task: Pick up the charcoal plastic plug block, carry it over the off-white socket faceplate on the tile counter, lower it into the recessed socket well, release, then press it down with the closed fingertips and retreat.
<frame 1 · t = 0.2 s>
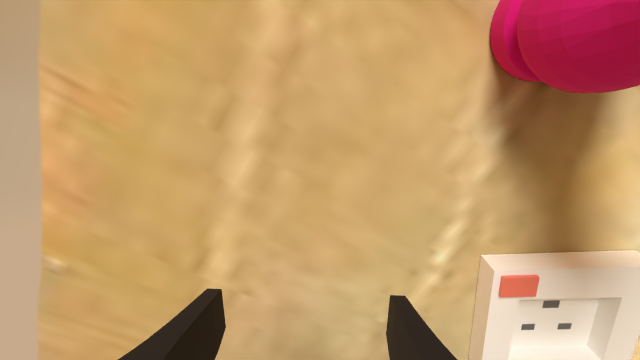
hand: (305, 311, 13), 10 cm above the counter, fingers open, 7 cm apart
socket plate: (544, 311, 24), on the counter
pepper mill: (541, 26, 18), on the counter
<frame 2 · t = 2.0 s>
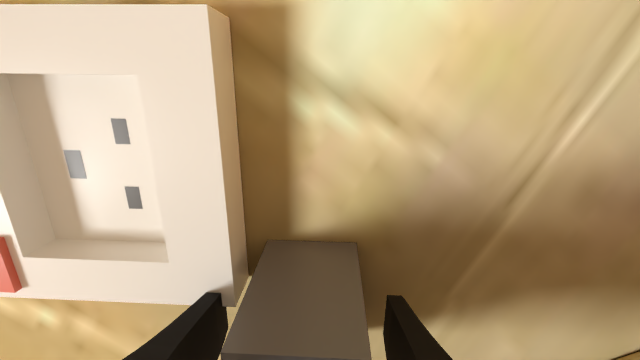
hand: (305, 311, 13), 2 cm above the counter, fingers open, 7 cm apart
plug: (311, 287, 14), on the counter
socket plate: (112, 162, 13), on the counter
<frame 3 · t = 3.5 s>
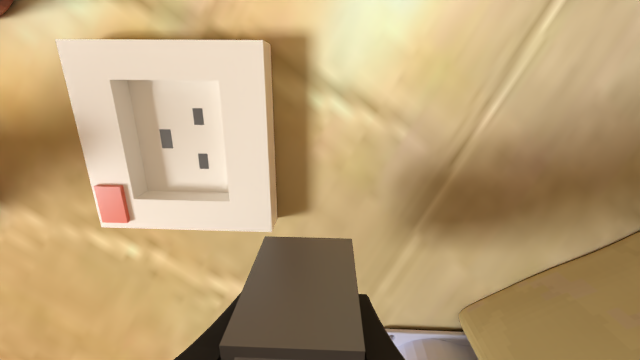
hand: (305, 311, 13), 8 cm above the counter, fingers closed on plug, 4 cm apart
tan rectangular block: (610, 267, 21), on the counter
plug: (308, 282, 15), point 6 cm above the counter, touching gripper
socket plate: (188, 137, 19), on the counter
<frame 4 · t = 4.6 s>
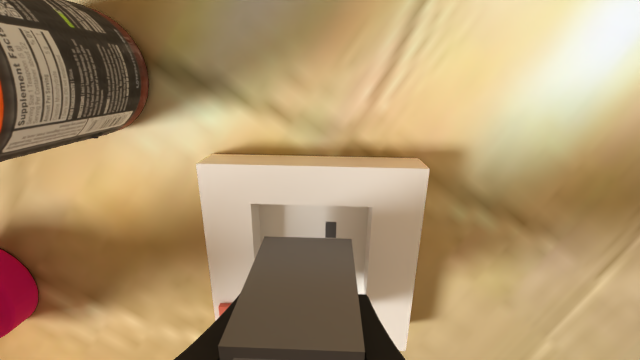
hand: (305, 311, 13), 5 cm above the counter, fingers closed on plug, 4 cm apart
plug: (308, 283, 15), point 3 cm above the counter, touching gripper
socket plate: (313, 246, 18), on the counter
supplement bottle: (99, 74, 15), on the counter
when the fingers open (3 cm above the counter, at t = 5.3 s): plug stays where it is, resting on socket plate.
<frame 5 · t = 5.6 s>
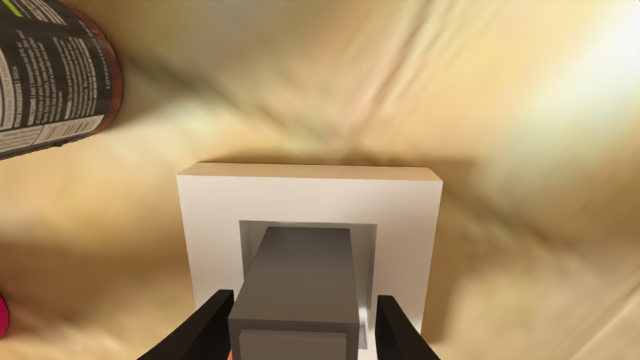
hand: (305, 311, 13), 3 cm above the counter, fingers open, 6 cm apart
plug: (308, 270, 16), point 1 cm above the counter, touching socket plate
socket plate: (310, 264, 16), on the counter
supplement bottle: (67, 72, 14), on the counter
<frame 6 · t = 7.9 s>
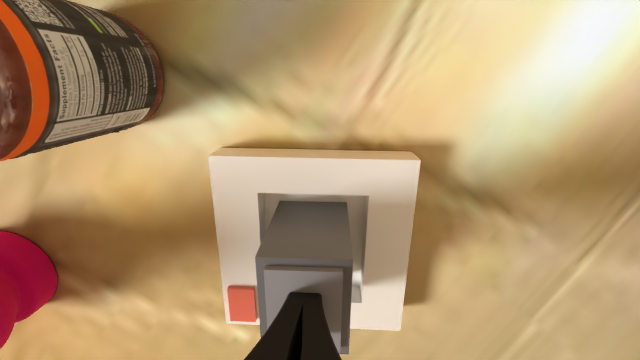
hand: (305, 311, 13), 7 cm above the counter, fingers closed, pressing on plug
plug: (313, 238, 19), point 1 cm above the counter, touching gripper, socket plate
socket plate: (314, 234, 19), on the counter
supplement bottle: (118, 74, 17), on the counter
pepper mill: (17, 267, 21), on the counter
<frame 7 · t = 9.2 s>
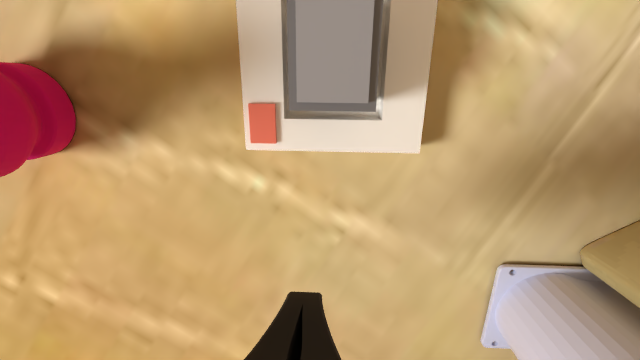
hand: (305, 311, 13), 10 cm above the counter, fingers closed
plug: (333, 60, 19), point 1 cm above the counter, touching socket plate
socket plate: (334, 60, 19), on the counter
pepper mill: (35, 110, 21), on the counter
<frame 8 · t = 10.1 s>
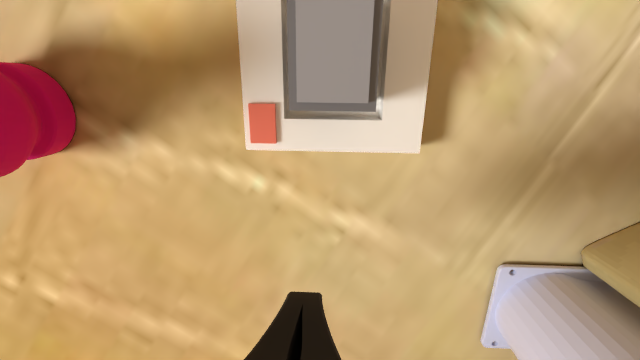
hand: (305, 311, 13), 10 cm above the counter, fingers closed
plug: (333, 60, 19), point 1 cm above the counter, touching socket plate
socket plate: (334, 60, 19), on the counter
pepper mill: (35, 110, 21), on the counter
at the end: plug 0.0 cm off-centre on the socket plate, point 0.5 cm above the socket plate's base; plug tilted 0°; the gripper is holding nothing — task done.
